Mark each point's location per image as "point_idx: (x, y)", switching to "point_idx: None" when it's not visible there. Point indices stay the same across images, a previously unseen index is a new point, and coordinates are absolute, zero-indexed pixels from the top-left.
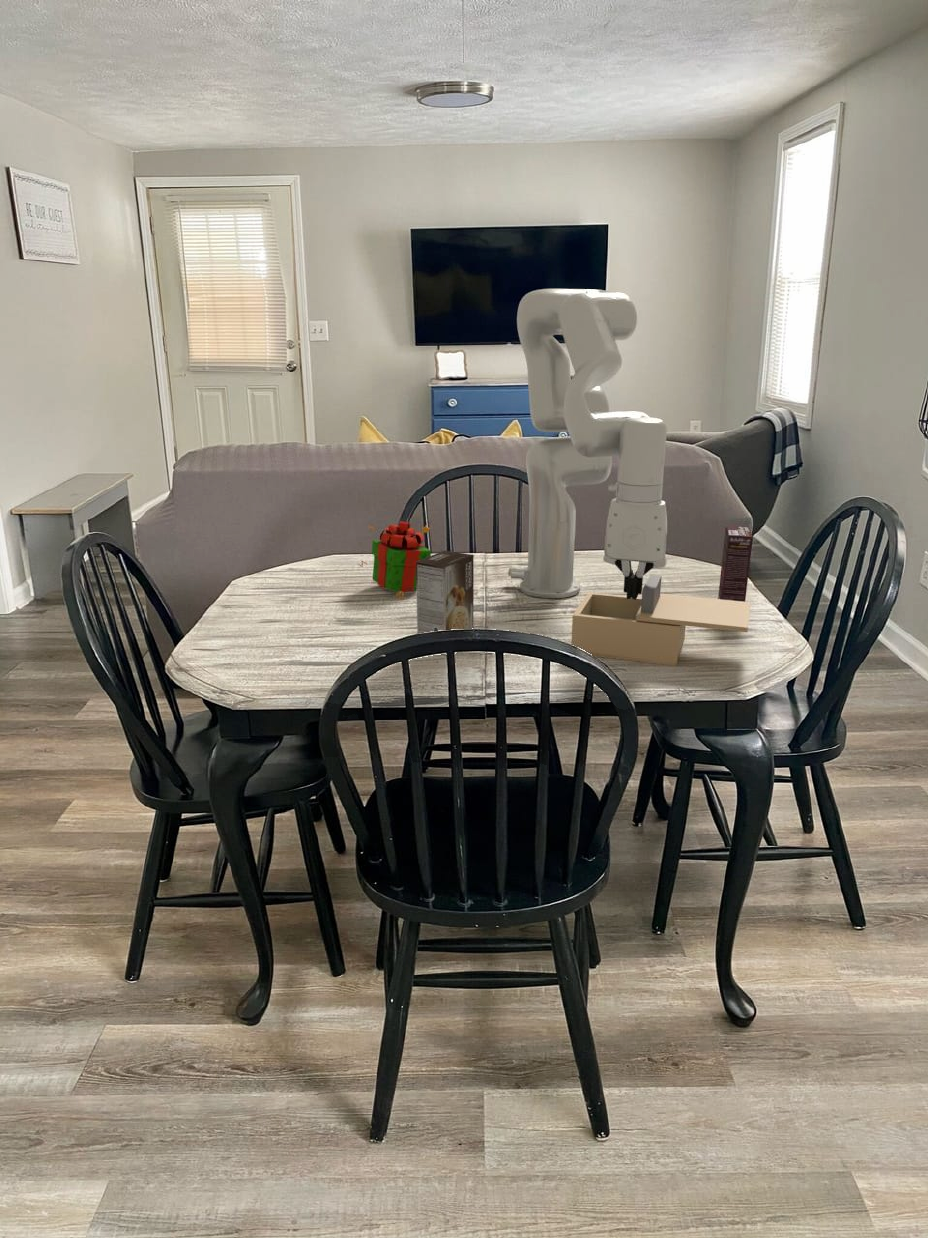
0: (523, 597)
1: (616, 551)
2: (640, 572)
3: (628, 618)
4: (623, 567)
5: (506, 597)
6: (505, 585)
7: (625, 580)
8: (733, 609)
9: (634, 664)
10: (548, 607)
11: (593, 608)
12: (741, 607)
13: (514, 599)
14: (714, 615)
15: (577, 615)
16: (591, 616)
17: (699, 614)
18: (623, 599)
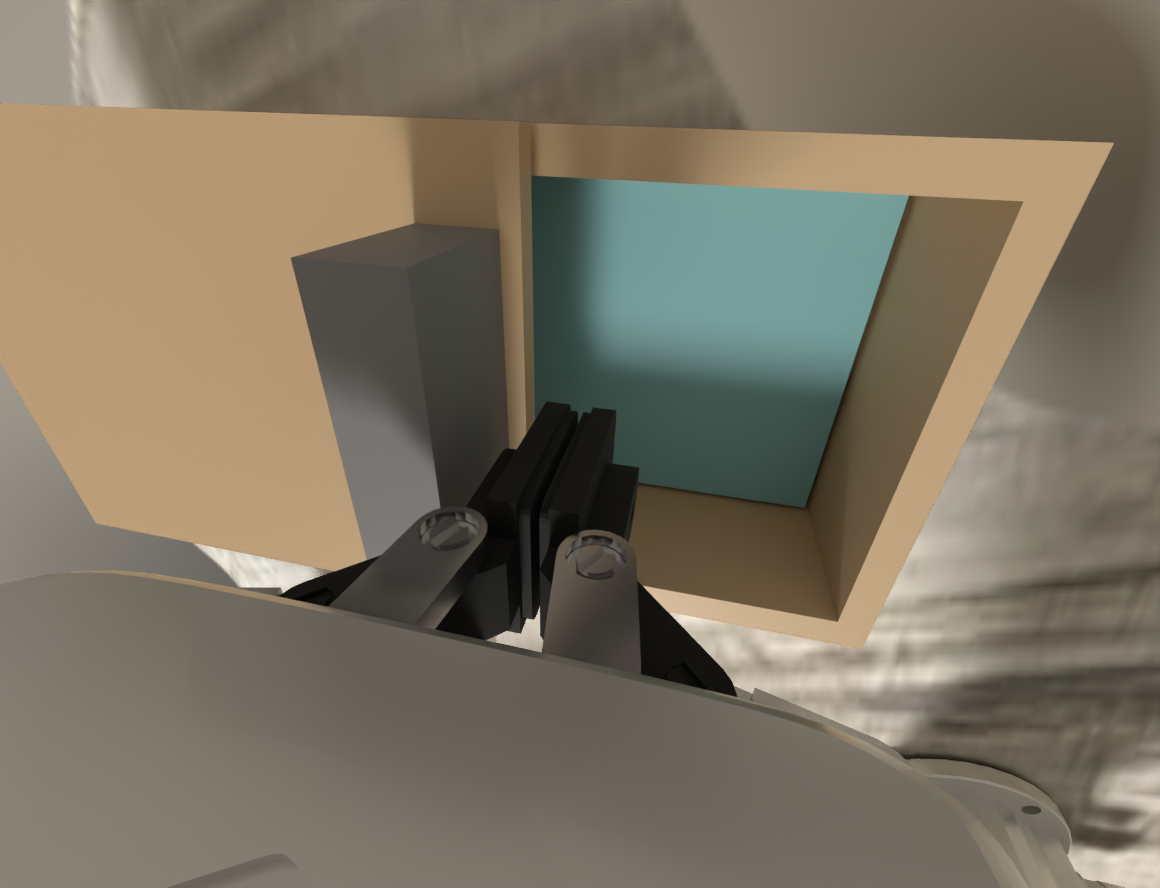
0: (1061, 773)
1: (743, 878)
2: (437, 551)
3: (637, 510)
4: (619, 614)
5: (1147, 778)
6: (1112, 859)
7: (614, 521)
8: (91, 419)
9: (583, 74)
10: (967, 694)
11: (813, 560)
12: (84, 454)
13: (1112, 761)
14: (101, 295)
15: (1056, 154)
16: (911, 162)
17: (170, 294)
18: (658, 579)
